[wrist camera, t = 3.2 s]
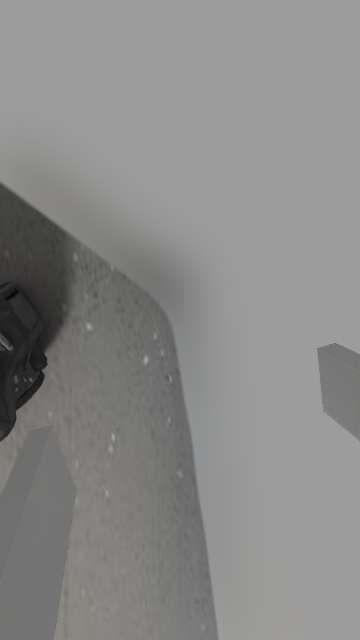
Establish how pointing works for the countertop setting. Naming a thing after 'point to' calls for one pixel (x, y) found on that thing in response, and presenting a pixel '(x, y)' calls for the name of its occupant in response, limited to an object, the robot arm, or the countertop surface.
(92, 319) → the countertop surface
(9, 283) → the camera
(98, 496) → the countertop surface
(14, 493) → the robot arm
